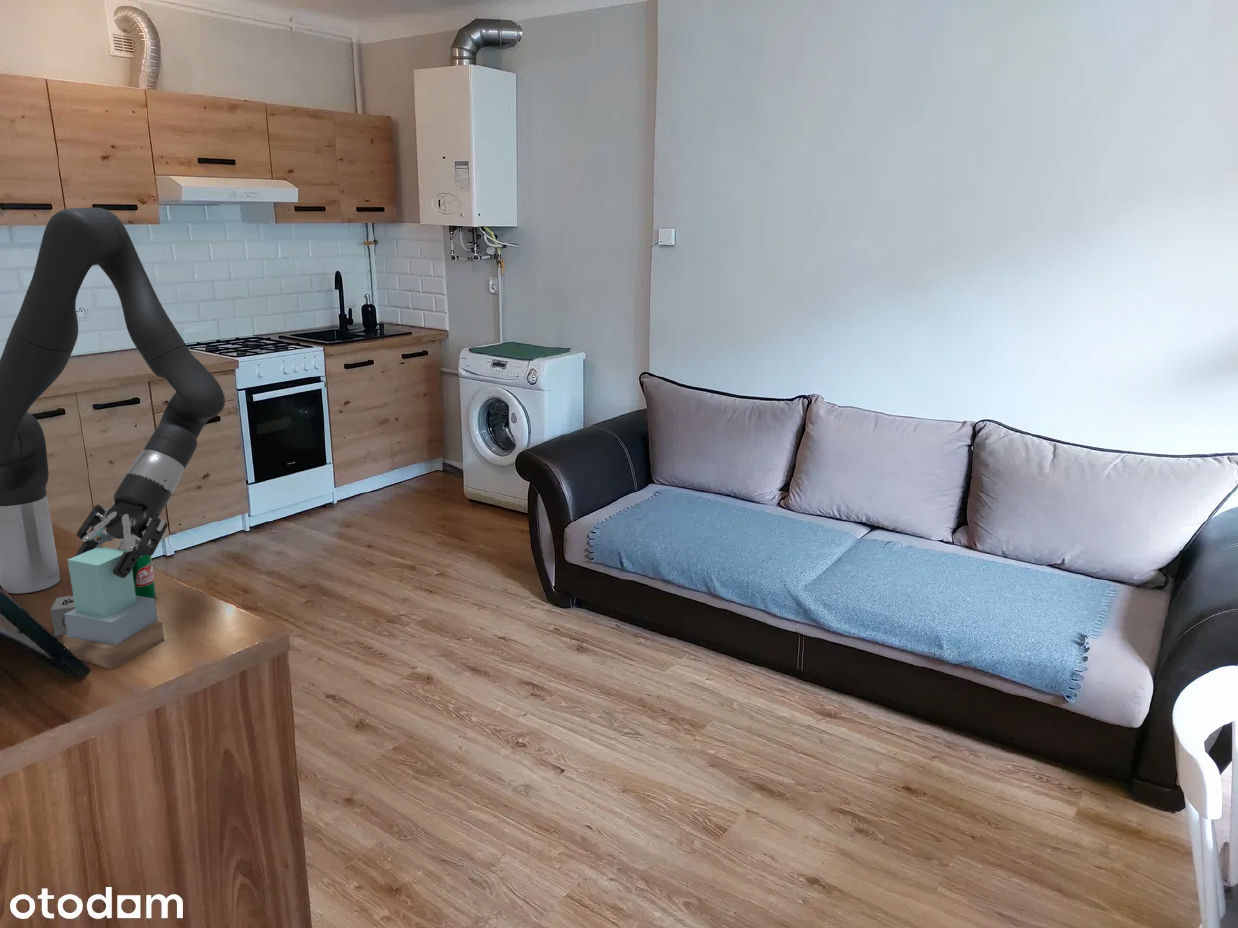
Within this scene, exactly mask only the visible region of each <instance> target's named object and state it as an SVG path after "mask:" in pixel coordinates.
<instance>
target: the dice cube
mask: <svg viewBox="0 0 1238 928" xmlns="http://www.w3.org/2000/svg"><path fill="white" fill-rule="evenodd" d="M74 609H75V603H74V597H73V595H66V596H60V597H56V599H55V600H54V603H53V604H52V606H51V607H50V615H51V621H52V627H53V635H54V637H62V636H61V635H63V636H64V635H66V634H67V628H66V622H65V615H64V614H66V613H68V612H70V611H72V610H74Z"/></svg>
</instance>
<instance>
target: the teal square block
mask: <svg viewBox="0 0 1238 928" xmlns="http://www.w3.org/2000/svg"><path fill="white" fill-rule="evenodd" d="M124 552H127V551H124V550H118V548H117V549H116V548H112V547H106V546H101V545H100V546H98V547H97V548H95V549H92V550H90V551H87V552H85V553H82V554H80V555H78V556H75V555H74V556H73V557H70V558H68V559H67V563H68V564H67V565H68V570H69V572H68V573H69V577H70V583H71V591H72V594H73V595H72V596H73V597H74V603H75V609H76V612H80V613H84V614H89V615H94V616H98V617H103V618H107V617H109V616H111V615H113V614H115V613H117V612H119V611H121V610H123V609H124V608H126V607H128V606H130V605H132V604H134V603H136V594H135V587H134V580H133V573H132V570H131V572H130V573H129V574H128V575H127V576H126V577H125V578H120V577H118V576H116V575H114V574H113V570H114V568H115V566H116V565H117V563H118V561H119V559H120V558H121V556H122V554H123V553H124Z"/></svg>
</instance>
